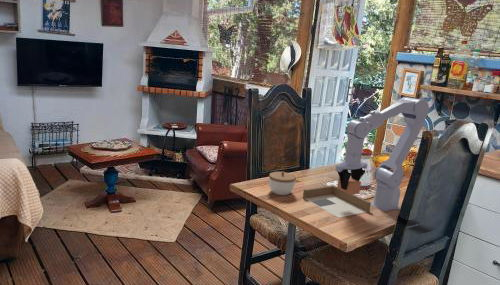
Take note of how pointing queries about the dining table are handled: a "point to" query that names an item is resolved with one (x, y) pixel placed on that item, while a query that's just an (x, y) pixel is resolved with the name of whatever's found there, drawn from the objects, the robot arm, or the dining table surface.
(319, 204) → the pad
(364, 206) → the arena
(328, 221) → the dining table surface
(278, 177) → the lidded jar
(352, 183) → the bar
